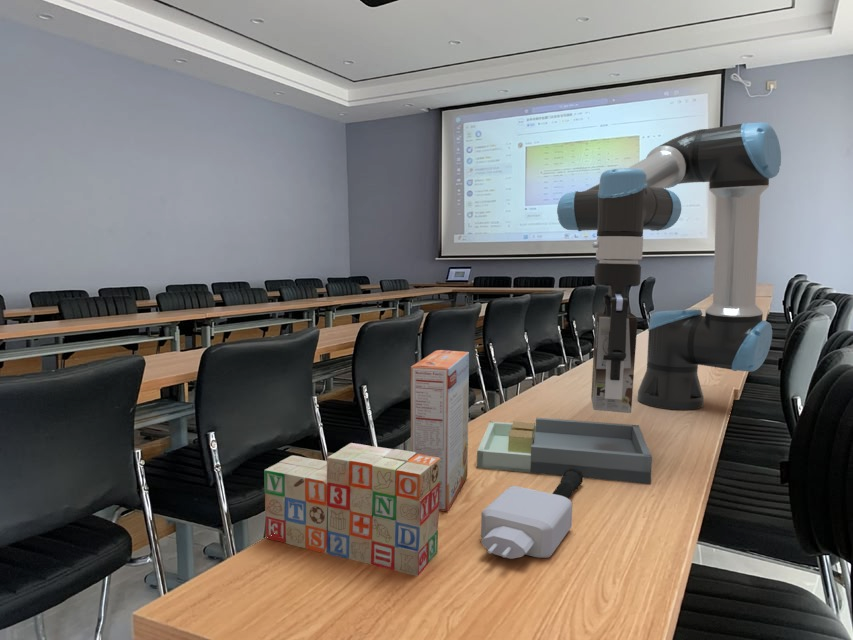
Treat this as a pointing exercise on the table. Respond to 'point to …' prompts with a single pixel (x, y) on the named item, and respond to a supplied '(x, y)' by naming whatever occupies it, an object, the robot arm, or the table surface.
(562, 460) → the blue gray tray
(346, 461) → the stack of blocks
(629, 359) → the coffee box
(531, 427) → the tan wooden cube
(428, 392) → the cracker box
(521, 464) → the tray
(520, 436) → the tan yellow cube
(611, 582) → the table surface
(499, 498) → the charger
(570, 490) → the flashlight
